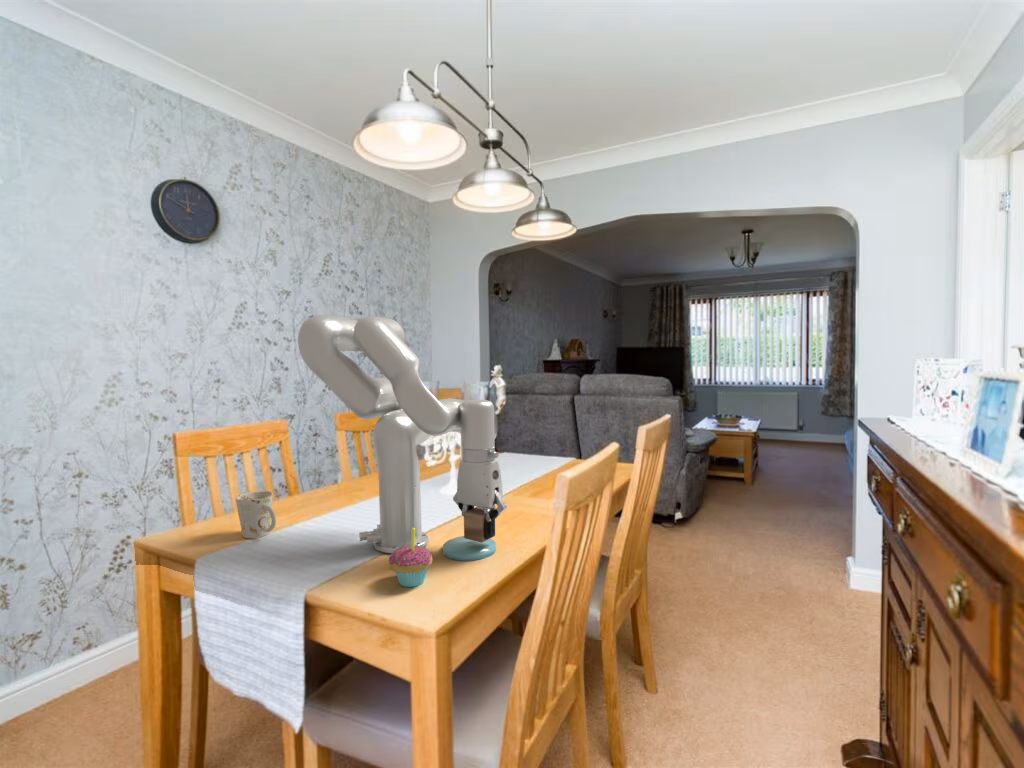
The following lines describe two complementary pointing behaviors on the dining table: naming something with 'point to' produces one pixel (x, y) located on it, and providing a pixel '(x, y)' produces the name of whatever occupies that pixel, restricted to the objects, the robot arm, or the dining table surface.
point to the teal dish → (468, 549)
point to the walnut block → (474, 524)
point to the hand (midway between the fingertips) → (479, 534)
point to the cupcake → (410, 563)
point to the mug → (256, 513)
